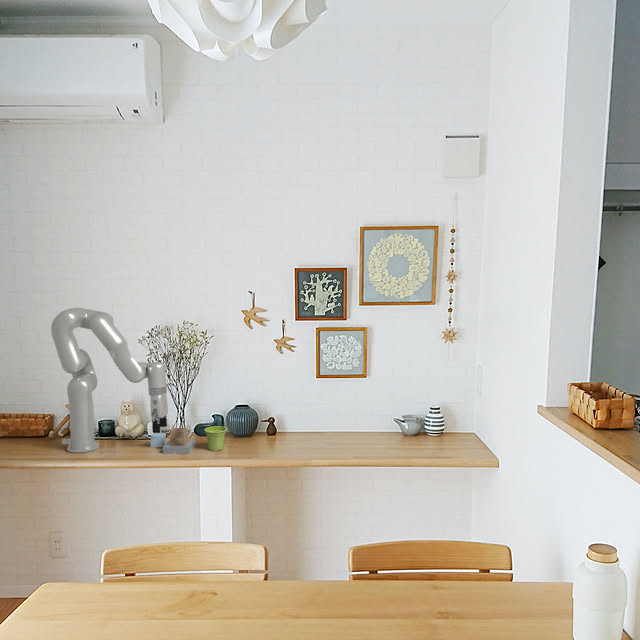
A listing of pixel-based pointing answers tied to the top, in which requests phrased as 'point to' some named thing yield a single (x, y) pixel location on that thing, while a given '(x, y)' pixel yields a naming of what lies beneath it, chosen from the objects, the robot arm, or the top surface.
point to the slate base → (179, 447)
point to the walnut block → (178, 436)
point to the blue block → (158, 439)
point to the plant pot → (215, 437)
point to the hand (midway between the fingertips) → (160, 429)
